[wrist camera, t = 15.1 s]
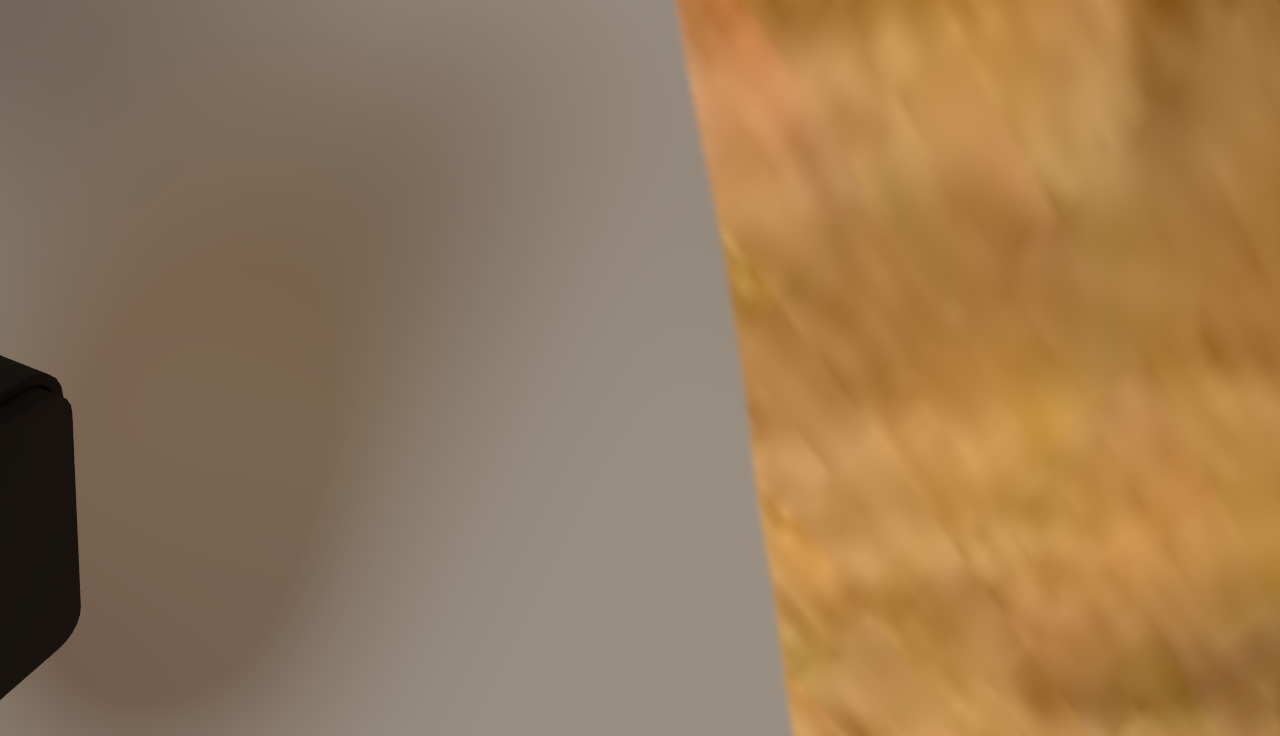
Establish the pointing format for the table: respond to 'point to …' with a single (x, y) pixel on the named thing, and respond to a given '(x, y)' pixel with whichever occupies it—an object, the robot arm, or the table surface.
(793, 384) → the table surface
